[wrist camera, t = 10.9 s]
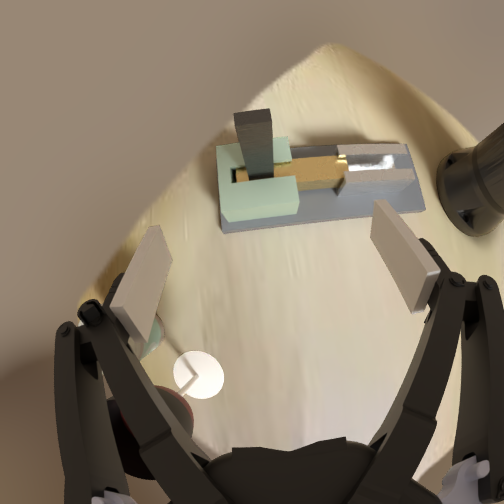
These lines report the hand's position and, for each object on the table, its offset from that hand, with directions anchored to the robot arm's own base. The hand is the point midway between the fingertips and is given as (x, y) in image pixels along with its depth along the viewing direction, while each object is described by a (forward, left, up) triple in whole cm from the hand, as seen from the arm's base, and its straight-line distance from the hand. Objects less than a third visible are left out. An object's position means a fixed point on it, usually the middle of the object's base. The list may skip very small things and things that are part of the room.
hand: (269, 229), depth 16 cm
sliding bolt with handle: (-4, -10, -18) cm, 21 cm away
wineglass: (+12, +15, -21) cm, 28 cm away
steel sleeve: (-15, -10, -19) cm, 26 cm away
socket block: (+1, -10, -19) cm, 22 cm away
